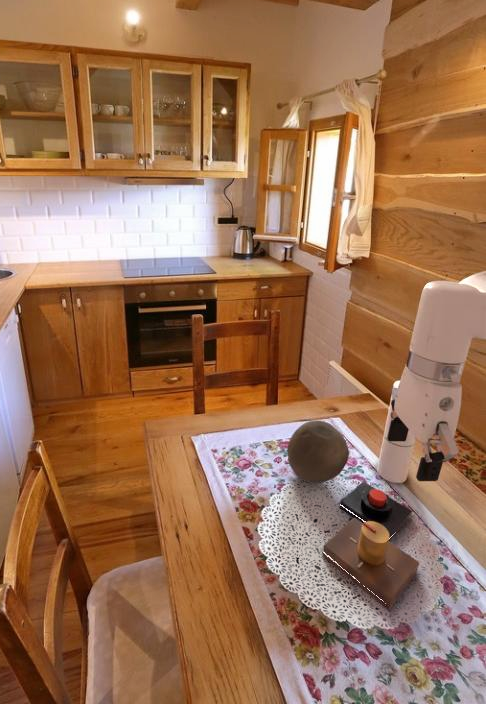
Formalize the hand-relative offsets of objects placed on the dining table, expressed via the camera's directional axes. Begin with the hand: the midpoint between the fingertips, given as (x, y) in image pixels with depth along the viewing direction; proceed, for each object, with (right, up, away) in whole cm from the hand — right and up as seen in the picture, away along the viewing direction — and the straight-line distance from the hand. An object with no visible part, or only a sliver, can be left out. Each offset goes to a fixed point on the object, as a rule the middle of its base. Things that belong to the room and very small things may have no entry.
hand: (410, 458), depth 66 cm
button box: (+4, -21, +26) cm, 33 cm away
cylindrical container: (+13, -17, +39) cm, 44 cm away
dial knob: (-2, -23, +12) cm, 26 cm away
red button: (+4, -18, +24) cm, 30 cm away
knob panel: (-2, -25, +13) cm, 29 cm away
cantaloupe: (-7, -17, +36) cm, 41 cm away
